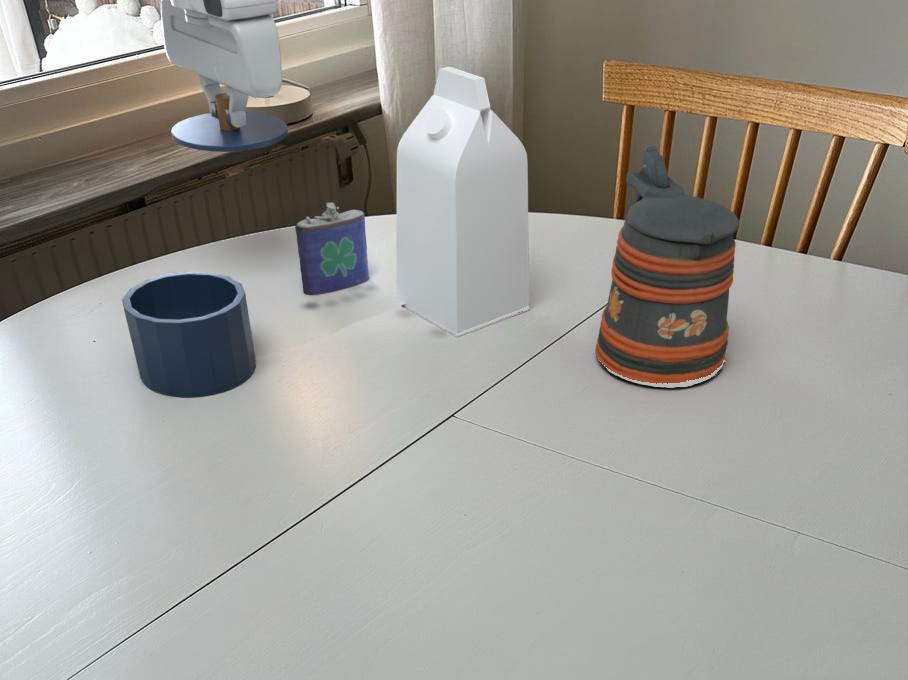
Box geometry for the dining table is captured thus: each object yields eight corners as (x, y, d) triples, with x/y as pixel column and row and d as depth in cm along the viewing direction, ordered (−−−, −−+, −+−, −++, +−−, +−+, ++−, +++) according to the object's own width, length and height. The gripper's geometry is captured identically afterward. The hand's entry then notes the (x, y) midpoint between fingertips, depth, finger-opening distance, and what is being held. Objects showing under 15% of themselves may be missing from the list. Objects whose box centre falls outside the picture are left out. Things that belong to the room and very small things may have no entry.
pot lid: (152, 135, 122) (144, 92, 119) (249, 115, 129) (244, 74, 126) (211, 165, 115) (204, 120, 111) (310, 141, 121) (306, 98, 118)
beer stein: (561, 323, 122) (573, 147, 109) (670, 308, 126) (695, 135, 112) (627, 399, 109) (650, 209, 95) (747, 379, 113) (786, 193, 99)
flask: (363, 277, 132) (357, 192, 124) (374, 285, 130) (369, 199, 122) (299, 294, 128) (289, 207, 120) (310, 302, 126) (300, 215, 119)
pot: (120, 366, 114) (101, 293, 108) (218, 332, 120) (205, 262, 114) (176, 409, 107) (159, 334, 101) (277, 372, 113) (267, 298, 107)
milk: (529, 309, 125) (539, 76, 107) (457, 337, 119) (455, 95, 102) (467, 278, 132) (467, 53, 114) (396, 302, 126) (384, 70, 108)
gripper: (138, -27, 115) (161, 106, 124) (233, 5, 104) (251, 148, 113) (187, -33, 118) (207, 97, 128) (285, -3, 107) (298, 137, 116)
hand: (228, 121), depth 120 cm, fingers closed on pot lid, 2 cm apart
